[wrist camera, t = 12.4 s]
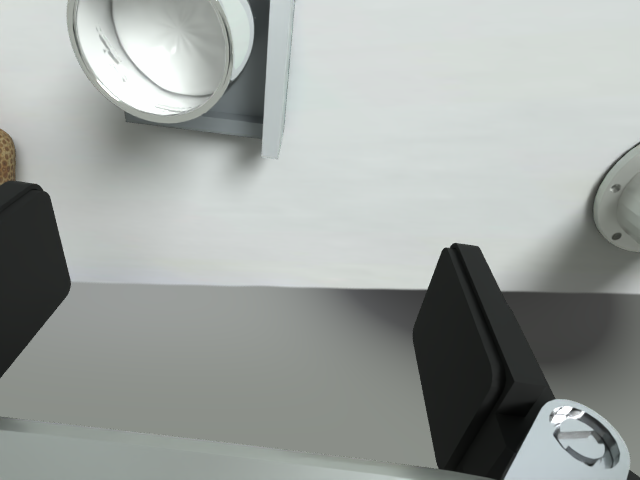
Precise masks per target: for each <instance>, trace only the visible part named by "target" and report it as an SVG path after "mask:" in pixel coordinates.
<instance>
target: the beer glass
mask: <svg viewBox="0 0 640 480" xmlns="http://www.w3.org/2000/svg"><path fill="white" fill-rule="evenodd" d="M265 18H266V0H68V2H67V28H68V34H69V38H70V42H71V45H72V48H73V51H74V53H75V56H76V58H77V60H78V62H79V64H80V66H81V68H82V69H83V71H84V73H85V74H86V76H87V77H88V78H89V80H90V81H91V82H92V84H93V85H94V86H95V87H96V88H97V89H98V91H99V92H100V93H101V94H103V95H104V96H105V97H106V98H107V99H108V100H109V101H110V102H112V103H113V104H114V105H116V106H117V107H119V108H120V109H122V110H124V111H125V112H127V113H129V114H131V115H133V116H136V117H138V118H141V119H144V120H147V121H151V122H156V123H180V122H185V121H189V120H192V119H194V118H197V117H199V116H201V115H202V114H204V113H206V112H207V111H208V110H210V109H211V108H212V107H213V106H214V105H215V104H216V103H217V102H218V101H219V100H220V99H221V98H222V97H223V96H224V95H225V94H226V93H227V92H228V91H229V90H230V89H231V88H232V87H233V86H234V84H235V83H236V82H237V81H238V79H239V78H240V77H241V75H242V74H243V72H244V70H245V68H246V66H247V64H248V62H249V59H250V57H251V54H252V51H253V46H254V41H255V40H256V39H257V37H258V36H259V34H260V33H261V31H262V29H263V26H264V23H265Z"/></svg>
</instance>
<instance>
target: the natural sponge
mask: <svg viewBox="0 0 640 480" xmlns="http://www.w3.org/2000/svg"><path fill="white" fill-rule="evenodd" d="M15 157H16V154H15V147H14V143H13V141H12V138H11V137H10V136H9V135H8V134H7V133H6V132H5V131H3V130H2V129H0V185H2V184H3V183H5V182H7V181H16V179H15V165H16V161H15Z"/></svg>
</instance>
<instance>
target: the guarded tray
mask: <svg viewBox="0 0 640 480" xmlns="http://www.w3.org/2000/svg"><path fill="white" fill-rule="evenodd" d="M294 6H295V0H266V18H265V23H264V26H263V29H262V31H261V33H260V34H259V36H258V37H257V39H256V40H255V41H254V46H253V51H252V54H251V57H250V59H249V62H248V64H247V66H246V68H245V70H244V72H243V74H242V75H241V77H240V78H239V79H238V81H237V82H236V83H235V84H234V86H233V87H232V88H231V89H230V90H229V91H228V92H227V93H226V94H225V95H224V96H223V97H222V98H221V99H220V100H219V101H218V102H217V103H216V104H215V105H214V106H213V107H212V108H211V109H210V110H208V111H207V112H206V113H204V114H202V115H201V116H199V117H197V118H194V119H192V120H189V121H185V122H180V123H156V122H151V121H147V120H144V119H141V118H138V117H136V116H133V115H131V114H129V113H127V112H125V118H126V122H132V123H140V124H148V125H156V126H164V127H172V128H180V129H188V130H196V131H204V132H212V133H220V134H228V135H236V136H244V137H251V138H259V139H262V154H261V157H263V158H271V159H278V157H279V152H280V147H281V142H282V137H283V132H284V123H285V111H286V99H287V88H288V76H289V65H290V53H291V41H292V30H293V18H294Z"/></svg>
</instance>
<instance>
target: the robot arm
mask: <svg viewBox="0 0 640 480" xmlns="http://www.w3.org/2000/svg"><path fill="white" fill-rule="evenodd" d="M593 215H594V221H595V224H596V227H597V229H598V230H599V231H600V233H601V234H602V235H603V236H604V237H605V238H606V239H607V240H608V241H609V242H610V243H611V244H613V245H615V246H616V247H618V248H621V249H624V250H627V251H634V252H640V144H639V145H638V146H636V147H635V148H633V149H632V150H630V151H629V152H628V153H627V154H626V155H625V156H624V157H622V158H621V159H620V160H619V161H618V162H617V163H616V164H615V166H614V167H613V168H612V169H611V170H610V171H609V173H608V174H607V175H606V177H605V179H604V180H603V182H602V183H601V185H600V187H599V190H598V192H597V194H596V197H595V202H594V207H593ZM70 286H71V281H70V276H69V272H68V268H67V264H66V260H65V256H64V252H63V248H62V244H61V240H60V236H59V231H58V227H57V223H56V219H55V215H54V211H53V207H52V203H51V199H50V196H49V194H48V193H47V192H45V191H43V189H42V188H41V187H40V186H39V185H37V184H32V183H25V182H18V181H7V182H5V183H3V184H2V185H0V378H1V377H2V375H3V374H4V373H5V372H6V370H7V369H8V368H9V367H10V366H11V364H12V363H13V362H14V360H15V359H16V358H17V357H18V356H19V354H20V353H21V352H22V351H23V349H24V348H25V347H26V346H27V345H28V343H29V342H30V341H31V340H32V338H33V337H34V336H35V335H36V333H37V332H38V331H39V330H40V328H41V327H42V326H43V325H44V323H45V322H46V321H47V320H48V319H49V317H50V316H51V315H52V314H53V312H54V311H55V310H56V309H57V307H58V306H59V305H60V304H61V303H62V301H63V300H64V299H65V298H66V296H67V295H68V293H69V291H70ZM413 344H414V348H415V354H416V359H417V364H418V369H419V374H420V380H421V385H422V390H423V395H424V400H425V406H426V411H427V416H428V421H429V425H430V431H431V437H432V442H433V447H434V451H435V457H436V462H437V466H438V468H439V469H434V468H426V467H419V466H411V465H405V464H397V463H389V462H383V461H376V460H368V459H360V458H352V457H344V456H336V455H327V454H318V453H311V452H302V451H294V450H286V449H278V448H268V447H261V446H252V445H244V444H235V443H228V442H219V441H210V440H202V439H193V438H184V437H176V436H167V435H159V434H150V433H141V432H132V431H124V430H114V429H105V428H97V427H89V426H80V425H71V424H62V423H53V422H44V421H35V420H25V419H17V418H8V417H0V480H640V477H638V476H637V475H636V474H634V473H633V472H632V471H630V470H629V469H630V454H629V452H628V449H627V446H626V444H625V442H624V441H623V439H622V438H621V436H620V435H619V433H618V432H617V430H615V428H614V427H613V426H612V425H611V424H610V423H609V422H608V421H607V420H606V419H604V418H603V417H602V416H600V415H599V414H597V413H596V412H595V411H594V410H592V409H590V408H588V407H586V406H584V405H582V404H580V403H577V402H573V401H570V400H564V399H555V397H554V395H553V393H552V391H551V389H550V387H549V385H548V383H547V381H546V379H545V377H544V375H543V373H542V371H541V369H540V367H539V364H538V363H537V360H536V359H535V356H534V354H533V352H532V350H531V348H530V346H529V344H528V342H527V340H526V338H525V336H524V334H523V332H522V330H521V328H520V326H519V324H518V322H517V320H516V318H515V316H514V314H513V312H512V310H511V309H510V307H509V306H508V305H507V303H506V301H505V299H504V297H503V295H502V293H501V291H500V289H499V287H498V285H497V283H496V280H495V278H494V276H493V274H492V272H491V270H490V268H489V266H488V264H487V262H486V260H485V258H484V256H483V254H482V252H481V250H480V248H479V247H478V246H473V245H466V244H459V243H454V244H452V245H451V247H450V248H444V249H443V250H442V252H441V255H440V258H439V260H438V263H437V266H436V268H435V271H434V274H433V276H432V279H431V282H430V284H429V287H428V290H427V293H426V295H425V298H424V301H423V303H422V306H421V309H420V311H419V314H418V317H417V320H416V322H415V325H414V328H413Z"/></svg>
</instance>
